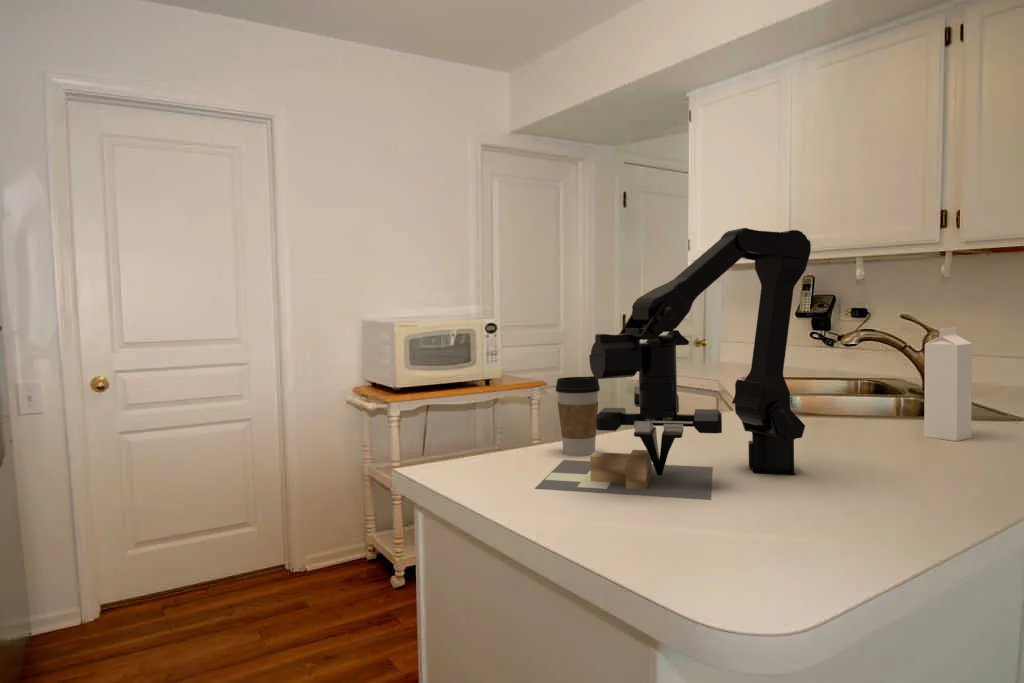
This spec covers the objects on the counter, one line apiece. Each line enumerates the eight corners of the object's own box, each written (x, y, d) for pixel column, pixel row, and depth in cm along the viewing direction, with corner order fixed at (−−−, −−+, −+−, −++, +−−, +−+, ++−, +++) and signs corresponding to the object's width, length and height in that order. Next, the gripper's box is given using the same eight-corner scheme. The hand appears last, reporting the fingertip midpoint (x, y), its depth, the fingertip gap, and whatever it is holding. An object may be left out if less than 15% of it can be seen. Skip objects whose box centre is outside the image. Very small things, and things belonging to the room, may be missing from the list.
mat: (712, 469, 108) (712, 466, 108) (710, 502, 90) (710, 499, 90) (563, 462, 117) (563, 459, 117) (534, 491, 99) (534, 488, 99)
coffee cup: (587, 461, 116) (585, 379, 116) (548, 456, 122) (546, 377, 121) (609, 452, 123) (607, 375, 122) (572, 447, 128) (570, 373, 127)
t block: (651, 474, 105) (651, 450, 105) (646, 489, 96) (645, 463, 96) (597, 471, 108) (596, 448, 107) (587, 486, 99) (586, 460, 99)
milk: (924, 437, 129) (923, 328, 128) (939, 433, 132) (938, 326, 131) (957, 441, 124) (957, 328, 123) (972, 437, 127) (972, 326, 126)
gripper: (720, 370, 104) (722, 465, 105) (606, 370, 110) (608, 460, 110) (721, 377, 93) (722, 483, 94) (594, 377, 99) (597, 477, 100)
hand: (659, 474), depth 100 cm, fingers closed
